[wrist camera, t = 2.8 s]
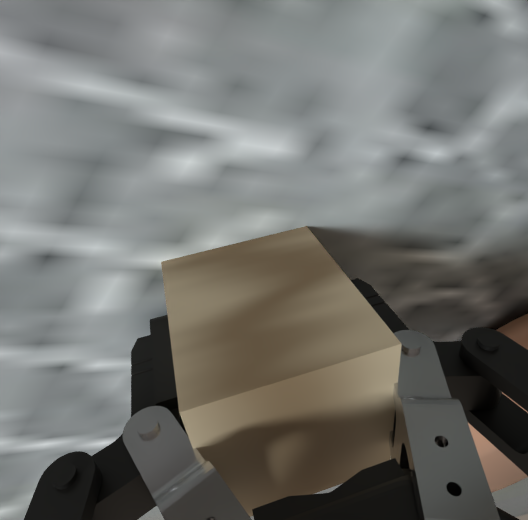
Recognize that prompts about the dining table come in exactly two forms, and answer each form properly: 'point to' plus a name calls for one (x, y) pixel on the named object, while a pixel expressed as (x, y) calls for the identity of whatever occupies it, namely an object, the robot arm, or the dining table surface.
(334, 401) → the birch block
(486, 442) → the dish
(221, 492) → the robot arm
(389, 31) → the dining table surface
